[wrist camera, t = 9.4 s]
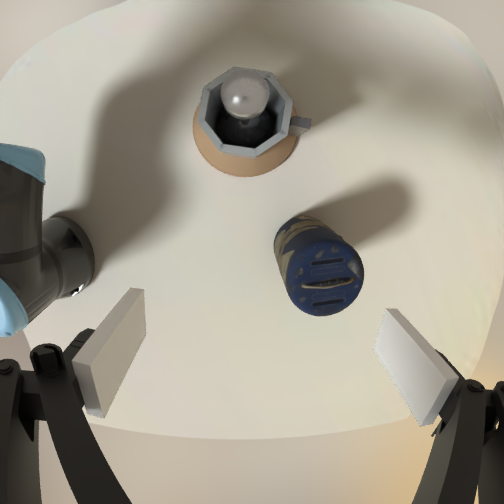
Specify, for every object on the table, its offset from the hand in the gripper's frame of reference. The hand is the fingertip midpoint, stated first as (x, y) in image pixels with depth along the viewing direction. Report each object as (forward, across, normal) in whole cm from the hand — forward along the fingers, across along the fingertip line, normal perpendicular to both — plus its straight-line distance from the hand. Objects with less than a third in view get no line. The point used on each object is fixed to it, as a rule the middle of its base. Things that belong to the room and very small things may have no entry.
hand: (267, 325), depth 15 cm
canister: (+34, +9, -4) cm, 35 cm away
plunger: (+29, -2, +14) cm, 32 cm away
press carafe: (+34, -2, +14) cm, 37 cm away
